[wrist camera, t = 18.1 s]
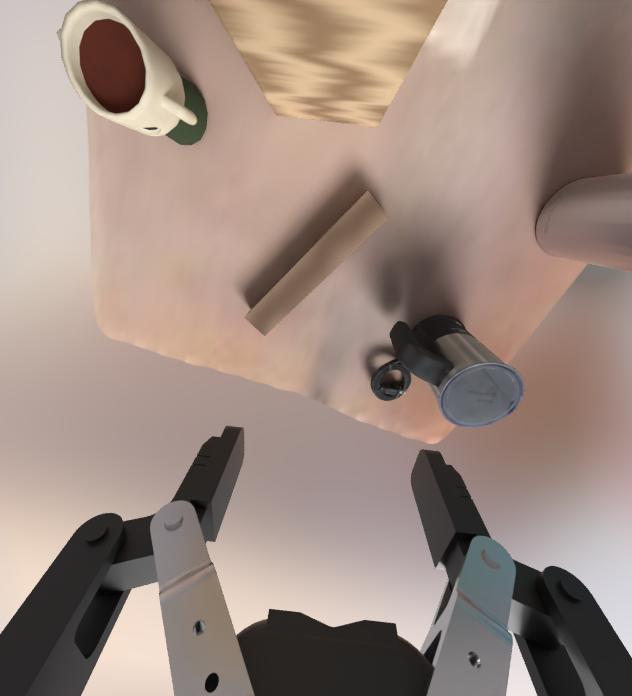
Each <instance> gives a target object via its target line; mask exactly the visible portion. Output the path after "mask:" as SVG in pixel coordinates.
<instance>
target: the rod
mask: <svg viewBox="0 0 632 696" xmlns="http://www.w3.org/2000/svg"><path fill="white" fill-rule="evenodd" d="M388 218H389V217H388V216H387V214H386V213H385V212H384V211H383V209H382V208H381V207H380V205H379V204H378V203H377V202H376V200H375V199H374V198H373V197H372V195H371V194H370V193H369V191H366V192H365V193H364V194H363V195H362V196H361V197H360V198H359V199H358V200H357V201H356V202H355V203H354V204H353V205H352V206H351V207H350V208H349V209H348V210H347V211H346V212H345V213H344V214H343V215H342V216H341V217H340V218H339V219H338V220H337V221H336V222H335V223H334V224H333V225H332V226H331V228H330V229H329V230H328V231H327V232H326V233H325V234H324V235H323V236H322V237H321V238H320V239H319V240H318V241H317V242H316V243H315V244H314V245H313V246H312V247H311V248H310V249H309V250H308V251H307V252H306V253H305V254H304V255H303V256H302V257H301V258H300V259H299V260H298V261H297V262H296V263H295V264H294V265H293V267H292V268H291V269H290V270H289V271H288V272H287V273H286V274H285V275H284V276H283V277H282V278H281V279H280V280H279V281H278V282H277V283H276V284H275V285H274V286H273V287H272V288H271V289H270V290H269V291H268V292H267V293H266V294H265V295H264V296H263V297H262V298H261V299H260V300H259V301H258V302H257V303H256V304H255V306H254V307H253V308H252V309H251V310H250V311H249V312H248V313H247V315H246V316H245V317H244V318H245V319H247V320H248V321H249V322H250V323H251V324H252V325H253V326H254V327H255V328H257V329H258V330H259V331H260V332H261V333H262V334H263V335H264V336H265V335H266V334H267V333H268V332H269V331H271V330H272V329H273V328H274V327H275V326H276V325H277V324H278V323H279V322H280V321H281V320H282V319H283V318H284V317H285V316H286V315H287V314H288V313H289V312H291V311H292V310H293V309H294V308H295V307H296V306H297V305H298V304H299V303H300V302H301V301H302V300H303V299H304V298H305V297H306V296H307V295H308V294H309V293H311V292H312V291H313V290H314V289H315V288H316V287H317V286H318V285H319V284H320V283H321V282H322V281H323V280H324V279H325V278H326V277H327V276H328V275H329V274H331V273H332V272H333V271H334V270H335V269H336V268H337V267H338V266H339V265H340V264H341V263H342V262H343V261H344V260H345V259H346V258H347V257H348V256H349V255H351V254H352V253H353V252H354V251H355V250H356V249H357V248H358V247H359V246H360V245H361V244H362V243H363V242H364V241H365V240H366V239H367V238H368V237H369V236H370V235H372V234H373V233H374V232H375V231H376V230H377V229H378V228H379V227H380V226H381V225H382V224H383V223H384V222H385V221H386V220H387V219H388Z"/></svg>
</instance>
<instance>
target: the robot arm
mask: <svg viewBox="0 0 632 696" xmlns="http://www.w3.org/2000/svg"><path fill="white" fill-rule="evenodd" d="M536 238H537V241H538V244H539V246H540V247H541V248H542V250H544V251H545V252H546V253H548V254H550V255H553V256H557V257H562V258H566V259H571V260H576V261H580V262H585V263H590V264H595V265H600V266H605V267H609V268H614V269H619V270H624V271H628V272H632V173H624V174H615V175H607V176H599V177H591V178H583V179H580V180H576V181H573V182H571V183H569V184H568V185H566V186H564V187H563V188H561V189H560V190H559V191H557V192H556V193H555V194H554V195H553V196H552V197H551V198H550V199H549V200H548V202H547V203H546V204H545V206H544V207H543V209H542V211H541V213H540V215H539V218H538V221H537V225H536ZM243 458H244V428H242V427H232V426H226V427H225V429H224V431H223V433H222V435H221V437H214V436H213V437H211V438H210V439H209V440H208V441H207V442H205V443H204V444H203V445H202V447H201V449H200V451H199V453H198V454H197V457H196V458H195V460H194V462H193V464H192V466H191V467H190V469H189V471H188V473H187V474H186V476H185V478H184V480H183V482H182V484H181V485H180V487H179V489H178V491H177V493H176V495H175V497H174V498H173V500H172V501H171V502H170V503H169V504H167V505H165V506H163V507H162V508H161V509H160V510H159V511H158V512H157V513H156V514H154V515H151V516H148V517H143V518H138V519H133V520H128V521H123V520H122V518H121V517H120V516H119V515H117V514H114V513H105V514H101V515H98V516H95V517H93V518H91V519H90V520H88V521H87V522H85V523H84V524H83V525H81V526H80V527H79V528H78V529H77V530H76V532H75V533H74V534H73V536H72V537H71V538H70V540H69V541H68V542H67V544H66V545H65V547H64V548H63V549H62V551H61V552H60V554H59V555H58V556H57V557H56V559H55V560H54V562H53V563H52V564H51V566H50V567H49V569H48V570H47V571H46V572H45V574H44V575H43V577H42V578H41V579H40V581H39V582H38V584H37V585H36V586H35V587H34V589H33V590H32V592H31V593H30V594H29V596H28V597H27V598H26V600H25V601H24V603H23V604H22V605H21V607H20V608H19V609H18V611H17V612H16V614H15V615H14V616H13V618H12V619H11V620H10V622H9V623H8V624H7V626H6V627H5V629H4V630H3V631H2V633H1V634H0V696H81V694H82V692H83V690H84V688H85V686H86V684H87V681H88V680H89V678H90V675H91V673H92V671H93V669H94V667H95V665H96V663H97V661H98V658H99V656H100V654H101V652H102V650H103V648H104V646H105V644H106V642H107V640H108V637H109V635H110V633H111V631H112V629H113V627H114V625H115V623H116V621H117V619H118V616H119V614H120V612H121V610H122V608H123V606H124V604H125V602H126V600H127V597H128V595H129V593H130V591H131V589H132V588H136V587H140V586H143V585H147V584H151V583H155V582H158V583H159V590H160V593H159V597H160V605H161V611H162V618H163V623H164V630H165V637H166V643H167V650H168V656H169V662H170V669H171V676H172V682H173V689H174V695H175V696H506V690H507V683H508V675H509V668H510V661H511V653H512V645H513V640H512V635H511V634H510V633H509V632H508V630H510V631H512V632H513V633H514V636H515V638H516V641H517V643H518V646H519V649H520V651H521V654H522V657H523V659H524V662H525V664H526V667H527V669H528V672H529V675H530V677H531V680H532V682H533V685H534V688H535V690H536V693H537V695H538V696H632V658H631V656H630V655H629V653H628V651H627V650H626V648H625V647H624V645H623V643H622V642H621V640H620V639H619V637H618V635H617V634H616V632H615V631H614V629H613V628H612V626H611V624H610V623H609V621H608V619H607V618H606V616H605V615H604V613H603V612H602V610H601V608H600V607H599V605H598V604H597V602H596V600H595V599H594V597H593V596H592V594H591V593H590V592H589V590H588V589H587V588H586V586H584V584H583V583H582V582H581V581H580V580H579V579H577V578H576V577H575V576H574V575H572V574H571V573H569V572H568V571H566V570H564V569H562V568H559V567H556V566H549V567H547V568H545V569H544V571H543V572H540V571H538V570H535V569H533V568H531V567H528V566H526V565H524V564H522V563H519V562H517V561H515V560H513V559H512V557H511V556H510V554H509V553H508V552H507V550H506V549H505V548H504V547H503V546H502V545H500V544H499V543H497V542H496V541H495V540H493V539H491V537H490V535H489V533H488V531H487V529H486V527H485V525H484V523H483V521H482V519H481V516H480V514H479V512H478V510H477V508H476V506H475V504H474V502H473V500H472V499H471V496H470V494H469V492H468V490H467V489H466V485H465V483H464V481H463V480H462V478H461V476H460V475H459V473H458V472H457V471H456V470H455V469H454V468H453V467H452V466H451V465H446V464H445V462H444V459H443V457H442V455H441V453H440V452H438V451H431V450H420V452H419V454H418V457H417V460H416V462H415V465H414V468H413V471H412V474H411V485H412V490H413V493H414V496H415V500H416V504H417V507H418V510H419V514H420V517H421V521H422V524H423V528H424V531H425V535H426V538H427V542H428V545H429V549H430V552H431V555H432V559H433V563H434V566H435V568H436V569H442V570H446V571H447V575H448V578H449V579H448V580H447V582H446V585H445V588H444V591H443V594H442V596H441V599H440V602H439V605H438V608H437V611H436V614H435V616H434V619H433V622H432V625H431V628H430V630H429V633H428V635H427V637H426V639H425V641H424V643H423V646H422V649H421V650H420V651H419V650H418V649H417V648H415V647H414V646H413V645H412V644H411V643H409V642H408V641H406V640H405V639H403V638H402V637H400V636H398V635H397V629H396V624H394V623H386V622H378V621H368V620H363V621H359V622H355V623H350V624H346V625H343V626H338V627H330V626H328V625H325V624H323V623H321V622H319V621H317V620H315V619H313V618H311V617H309V616H307V615H304V614H302V613H300V612H292V611H283V610H275V609H269V614H268V619H266V620H262V621H259V622H256V623H254V624H252V625H250V626H248V627H247V628H245V629H244V630H242V631H241V632H240V633H239V634H237V635H236V634H235V631H234V628H233V624H232V621H231V618H230V615H229V612H228V608H227V605H226V602H225V599H224V595H223V592H222V589H221V586H220V583H219V579H218V576H217V573H216V570H215V567H214V564H213V563H212V562H211V560H210V557H209V554H208V551H207V548H206V542H207V541H213V542H215V540H216V538H217V535H218V532H219V529H220V526H221V523H222V520H223V517H224V515H225V512H226V509H227V506H228V503H229V501H230V498H231V495H232V492H233V489H234V486H235V483H236V481H237V478H238V475H239V472H240V469H241V466H242V463H243Z"/></svg>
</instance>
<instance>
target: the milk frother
mask: <svg viewBox="0 0 632 696" xmlns="http://www.w3.org/2000/svg"><path fill="white" fill-rule="evenodd" d="M390 338H391V341H392V344H393V347H394V350H395V353H396V356H397V358H396V359H394V360H392V361H390V362H388V363H386V364H384V365H383V366H381V367H380V368H379V369H378V370H377V371H376V372H375V373H374V375H373V376H372V379H371V388H372V391H373V393H374V394H375V395H376V396H377V397H378V398H379V399H381V400H384V401H390V400H394V399H396V398H398V397H400V396H401V395H402V394H405V391H406V390H407V389H408V387H409V385H410V383H411V374H410V372H411V373H413V374H414V375H415V376H417V377H419V378H420V379H422V380H424V381H426V382H427V383H428V384H429V386H430V388H431V390H432V392H433V393H434V395H435V397H436V399H437V401H438V403H439V409H440V411H441V413H442V415H443V416H444V417H445V418H446V419H447V420H448V421H449V422H451V423H453V424H454V425H458V426H462V427H468V428H475V427H476V428H477V427H483V426H487V425H490V424H493V423H496V422H498V421H500V420H501V419H503V418H505V417H506V416H508V415H509V414H511V413H512V412H513V411H514V410H515V409H516V408H517V406H518V405H519V403H520V401H521V399H522V397H523V394H524V381H523V379H522V377H521V375H520V373H519V372H518V371H516V370H515V369H514V368H512V367H511V366H509V365H507V364H504V363H503V362H502V361H501V360H500V359H499V358H498V357H496V356H495V355H494V354H493V353H492V352H491V351H490V350H489V349H487V348H486V347H485V346H484V345H483V344H482V343H480V342H479V341H478V340H477V339H476V338H475V337H474V336H472V335H471V334H470V333H469V332H468V331H467V330H466V329H465V327H464V325H463V324H462V323H461V322H460V321H459V320H457V319H455V318H453V317H450V316H445V315H439V316H433V317H430V318H427V319H425V320H423V321H422V322H420V323H419V324H418V325H417V326H416V327H415V328H414V329H413V330H412V331H411V330H410V328H409V326H408V325H407V324H406V323H405V322H402V321H398V322H397V323H396V324H395V325H394V326H393V328H392V330H391V332H390ZM398 362H401V363H398ZM391 370H399V371H401V372H402V374H403V377H404V381H403V385H402V387H401V388H400V387H399V386H398V385H397V384H396V383H395V382H392V383H384V384H380V380H381V378H382V377H383V375H385V374H386V373H387V372H389V371H391ZM382 391H383V392H382ZM387 393H388V394H387Z"/></svg>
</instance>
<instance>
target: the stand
mask: <svg viewBox="0 0 632 696" xmlns="http://www.w3.org/2000/svg"><path fill="white" fill-rule="evenodd" d="M209 1H210V3H211V4H212V6H213V8H214V10H215V11H216V13H217V15H218V16H219V18H220V20H221V22H222V23H223V25H224V27H225V28H226V30H227V32H228V33H229V35H230V37H231V39H232V40H233V42H234V44H235V45H236V47H237V49H238V51H239V52H240V54H241V56H242V57H243V59H244V61H245V62H246V64H247V66H248V68H249V69H250V71H251V73H252V74H253V76H254V78H255V80H256V81H257V83H258V85H259V86H260V88H261V90H262V91H263V93H264V95H265V97H266V98H267V100H268V102H269V103H270V105H271V107H272V109H273V110H274V112H275V114H276V115H282V116H290V117H299V118H307V119H315V120H323V121H331V122H340V123H348V124H356V125H364V126H373V127H378V125H379V123H380V121H381V120H382V118H383V116H384V114H385V112H386V111H387V109H388V107H389V105H390V103H391V102H392V100H393V98H394V96H395V94H396V92H397V91H398V89H399V87H400V85H401V83H402V82H403V80H404V78H405V76H406V74H407V73H408V71H409V69H410V67H411V65H412V64H413V62H414V60H415V58H416V56H417V55H418V53H419V51H420V49H421V47H422V46H423V44H424V42H425V40H426V38H427V36H428V35H429V33H430V31H431V29H432V27H433V26H434V24H435V22H436V20H437V18H438V17H439V15H440V13H441V11H442V9H443V8H444V6H445V4H446V2H447V0H209Z"/></svg>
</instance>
